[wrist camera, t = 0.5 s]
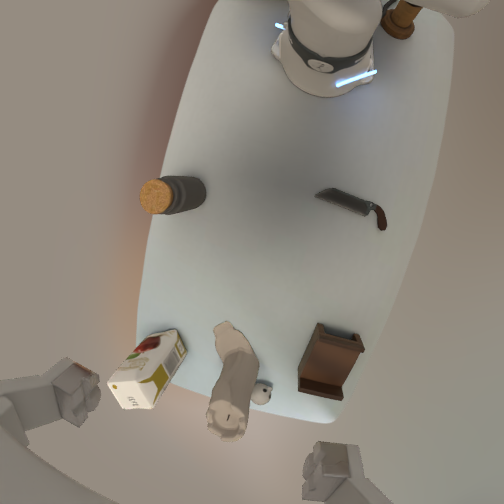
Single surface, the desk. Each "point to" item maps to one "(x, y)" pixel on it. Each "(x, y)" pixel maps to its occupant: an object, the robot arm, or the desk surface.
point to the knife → (353, 204)
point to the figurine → (261, 394)
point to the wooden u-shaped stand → (327, 364)
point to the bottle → (172, 194)
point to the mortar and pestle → (400, 20)
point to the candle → (232, 384)
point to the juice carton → (148, 370)
